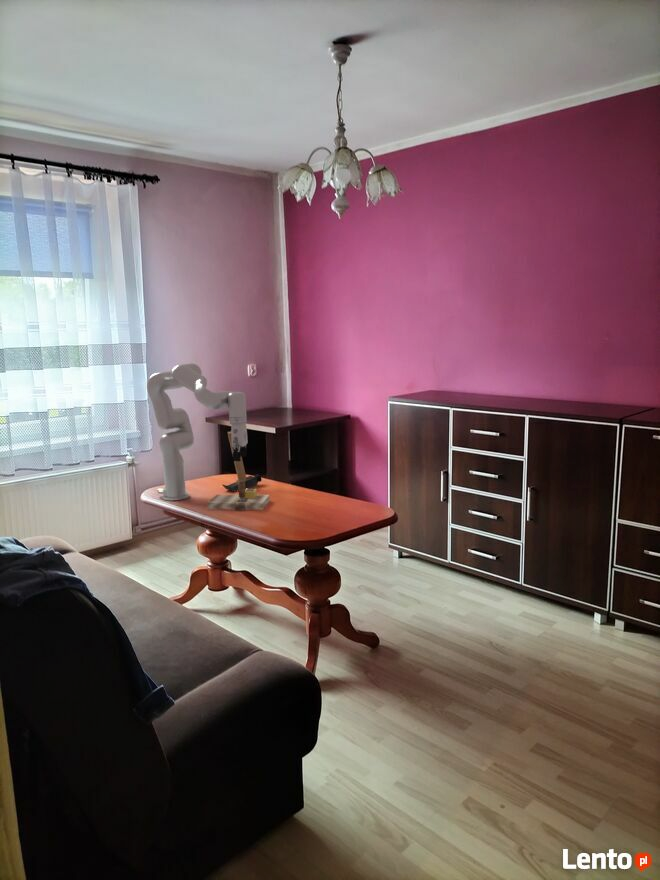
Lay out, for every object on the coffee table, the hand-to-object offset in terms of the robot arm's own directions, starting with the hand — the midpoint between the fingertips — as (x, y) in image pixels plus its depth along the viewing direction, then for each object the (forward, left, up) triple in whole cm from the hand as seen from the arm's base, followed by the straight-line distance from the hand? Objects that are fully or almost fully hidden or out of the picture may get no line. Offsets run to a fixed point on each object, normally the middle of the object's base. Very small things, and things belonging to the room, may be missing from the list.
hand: (239, 458), depth 284 cm
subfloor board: (-2, +3, -22) cm, 22 cm away
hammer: (-9, +33, -23) cm, 41 cm away
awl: (0, 0, -22) cm, 22 cm away
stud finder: (+2, +6, -19) cm, 20 cm away
